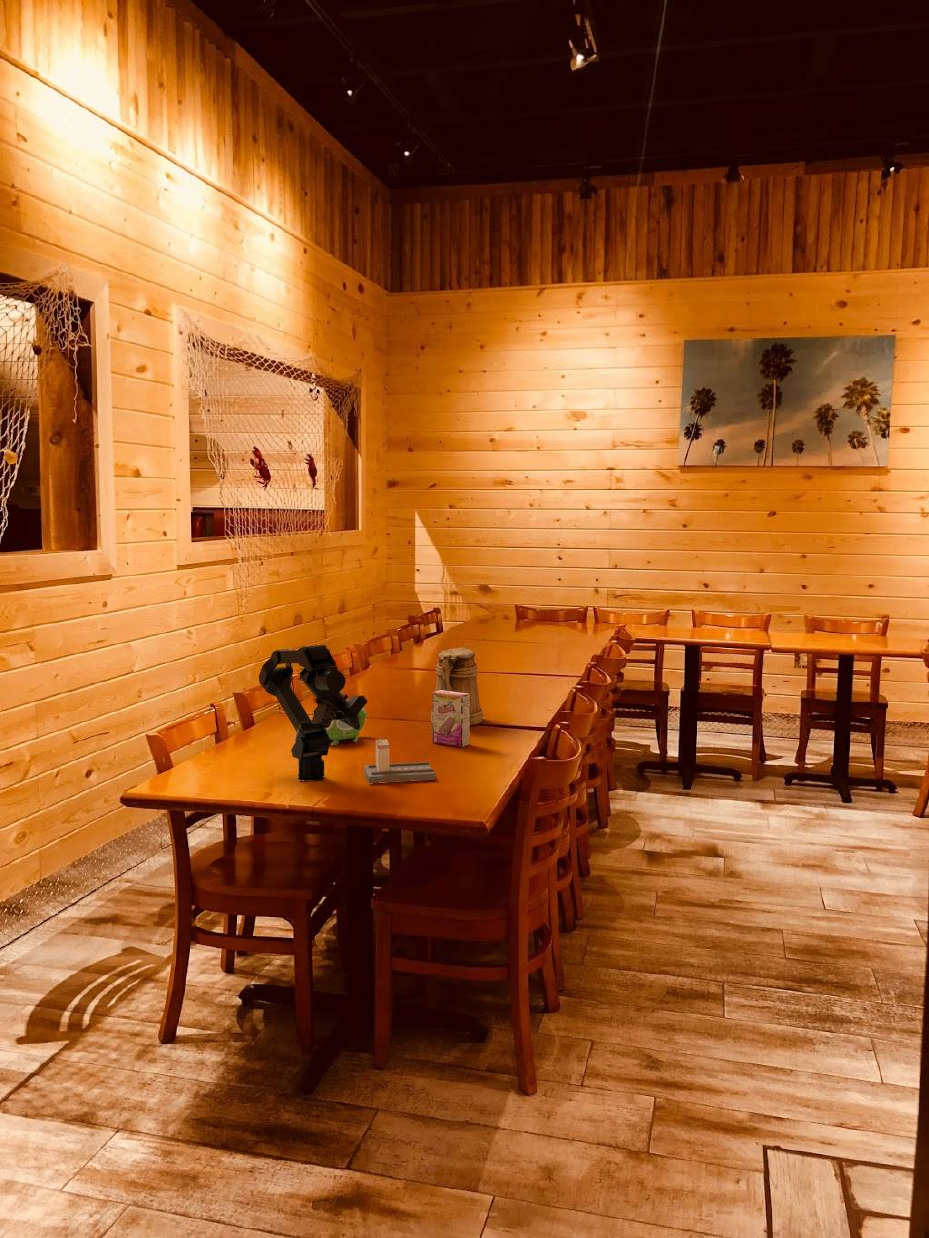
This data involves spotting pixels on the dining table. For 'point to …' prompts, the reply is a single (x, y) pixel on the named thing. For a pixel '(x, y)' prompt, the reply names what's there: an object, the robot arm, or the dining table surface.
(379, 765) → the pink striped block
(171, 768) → the dining table surface
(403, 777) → the toy road segment
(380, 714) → the dining table surface
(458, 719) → the candy bar box
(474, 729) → the dining table surface
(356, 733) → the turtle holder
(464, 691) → the tankard
